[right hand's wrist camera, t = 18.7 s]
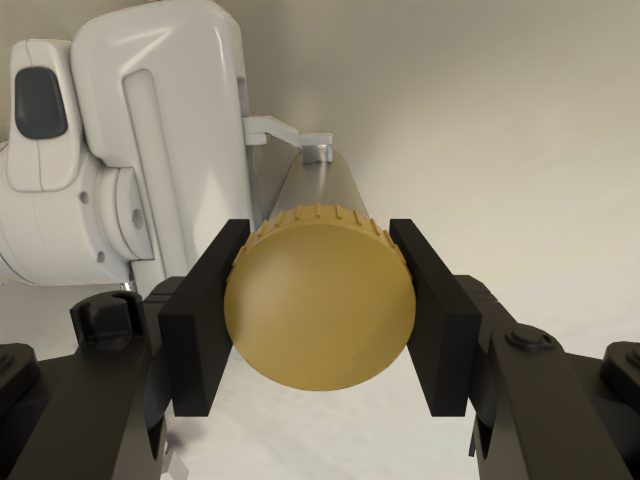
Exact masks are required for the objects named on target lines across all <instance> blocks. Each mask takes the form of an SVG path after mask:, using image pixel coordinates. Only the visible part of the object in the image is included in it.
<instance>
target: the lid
mask: <svg viewBox="0 0 640 480" xmlns="http://www.w3.org/2000/svg"><path fill="white" fill-rule="evenodd" d="M232 266H233V268H232V270H231V272H230V274H229V276H228V278H227V280H226V283H227V286H226V290H225V295H224V315H225V324H226V328H227V331H228V334H229V336H230V339H231V341H232V343H233V344H234V346H235V348H236V349H237V351H238V352H239V353H240V355H241V356H242V357H243V359H244V360H245V361H246V362H247V363H248V364H249V365H250V366H251V367H253V368H254V369H255V370H257V371H258V372H259V373H261V374H262V375H264V376H266V377H267V378H269V379H271V380H273V381H275V382H277V383H280V384H282V385H285V386H288V387H291V388H296V389H301V390H308V391H331V390H339V389H344V388H348V387H351V386H354V385H357V384H360V383H362V382H365V381H367V380H369V379H371V378H372V377H374V376H376V375H377V374H379V373H380V372H382V371H383V370H384V369H386V368H387V367H388V366H389V365H390V364H391V363H392V362H393V361H394V360H395V359H396V358H397V357H398V356H399V354H400V353H401V352H402V350H403V349H404V347H405V345H406V344H407V342H408V340H409V338H410V335H411V333H412V330H413V327H414V322H415V312H416V296H415V291H414V286H413V284H412V280H413V277H412V275H411V273H410V271H409V270H408V268H407V266H406V261H405V259H404V257H403V255H402V253H401V252H400V250H399V248H398V246H397V244H395V245H394V243H393V241H392V239H391V237H390V235H389V234H388V232H387V231H386V230H385V231H382V230H381V229H380V228H379V227H378V226H377V225H376V223H375V220H374V219H372V218H371V219H370V220H369V219H368V218H366V217H364V216H362V215H360V214H359V212H358V210H356V209H355V210H354V212H353V211H351V210H348V209H344V208H341V207H340V205H339V204H336V206H328V205H320V202H318V203H317V205H311V206H304V207H302V206H301V204H300V205H297V208H295V209H291V210H289V211H286V212H283V210H281V211H279V214H278V215H277V216H276V217H274V218H272V219H270V220H269V221H267V220H264V221H263V223H262V225H261V227H260V228H259V229H258V230H257V231H256V232H255V233H254V232H252V233H251V234H250V236H249V238H248V240H247V241H246V243H245V245H244V246H242V247H241V249H240V251H239V253H238V255H237V257H236V259H235V260H234V262H233V264H232Z"/></svg>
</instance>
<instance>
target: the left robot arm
mask: <svg viewBox="0 0 640 480" xmlns="http://www.w3.org/2000/svg"><path fill="white" fill-rule="evenodd" d="M271 135H272V136H274V137H276V138H278V139H280V140H282V141H284V142H286V143H288V144H290V145H292V146H295V147H297V148H300V154H301V164H308V163H314V162H315V161H317V160H318V161H320V162H323V163H326V162H332V161H333V140H332V133H331V132H321V133H303V134H301V133H300V131H299V130H297V129H295V128H293V127H291V126H289V125H287V124H285V123H283V122H281V121H279V120H278V119H276V118H274V117H272V116H270V115H266V116H250V110H249V102H248V93H247V84H246V75H245V66H244V57H243V49H242V40H241V31H240V27H239V25H238V23H237V22H236V21H235V20H234V19H233V17H232V16H231V15H230V14H229V13H228V12H227V11H226V10H224V9H223V8H222V7H221V6H219V5H218V4H216V3H215V2H213V1H211V0H167V1H160V2H154V3H148V4H143V5H138V6H133V7H128V8H124V9H120V10H116V11H112V12H109V13H106V14H102V15H100V16H97V17H95V18H93V19H91V20H90V21H88V22H87V23H85V24H84V25H83V26H82V27H81V28H80V29H79V30H78V32H77V33H76V35H75V36H74V39H73V41H69V40H60V39H24V40H20V41H18V42H16V43H15V44H14V45H13V47H12V49H11V53H10V131H9V140H7V141H4V142H2V143H0V285H2V284H5V283H8V282H19V283H23V284H26V285H31V286H40V287H50V286H52V287H53V286H73V285H92V284H114V283H119V284H120V288H121V290H128V291H133V292H137V293H138V294H140V295H141V296H142V299H143V300H144V299H145V298H146V297H147V296H149V293H150V292H151V291H152V290H153V289H154V288H155V286H156V285H157V284H159V283H161V282H162V281H164V280H166V279H167V278H169V277H171V276H186V275H187V274H188V273H189V271H190V270H191V269H192V267H193V266H194V265H195V263H196V262H197V261H198V260H199V258H200V257H201V256H202V254H203V253H204V252H205V250H206V249H207V248H208V246H209V245H210V244H211V242H212V241H213V240H214V238H215V237H216V236H217V234H218V233H219V232H220V230H221V229H222V228H223V226H224V225H225V224H226V222H227V221H228V220H229V219H250V232H251V233H252V232H254V233H255V232H256V231H257V230H258V229H259V228H260V227H261V225H262V216H261V207H260V199H259V190H258V181H257V172H256V163H255V155H254V146H253V145H261V144H266V143H267V142H268V141H269V140H270V139H271ZM228 360H244V359H243V357H242V356H241V355H240V353H239V352H238V351H237V349H236V348H235V346H234V344H233V347H232V349H231V352H230V355H229V358H228Z"/></svg>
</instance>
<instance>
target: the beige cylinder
mask: <svg viewBox="0 0 640 480" xmlns="http://www.w3.org/2000/svg"><path fill="white" fill-rule="evenodd" d="M318 202H320V205H328V206H336V204H339V205H340V207H341V208H344V209H348V210H351V211H353V212H354V210H355V209H356V210H358V212H359V214H360V215H362V216H364V217H366V218H368V219H369V220H370V217H369V215H368V212H367V210H366V208H365V205H364V203H363V200H362V198H361V196H360V193H359V191H358V189H357V186H356V184H355V181H354V179H353V177H352V174H351V172H350V170H349V167H348V165H347V163H346V161H345V159H344V158H343V157H342V155H340V154H339V153H338V152H337V151H335V150H333V161H332V162H326V163H323V162H320V161H318V160H317V161H315V162H314V163H308V164H301V154H299V155H298V156H297V157H296V159H295V160H294V162H293V164H292V166H291V168H290V171H289V173H288V176H287V178H286V180H285V183H284V185H283V188H282V190H281V192H280V195H279V197H278V199H277V202H276V204H275V207H274V209H273V211H272V214H271V216H270V219H272V218H274V217H276V216H277V215H278V214H279V211H281V210H283V212H286V211H289V210H291V209H295V208H297V205H300V204H301V206H302V207H304V206H311V205H317V203H318ZM270 219H269V220H270Z"/></svg>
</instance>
